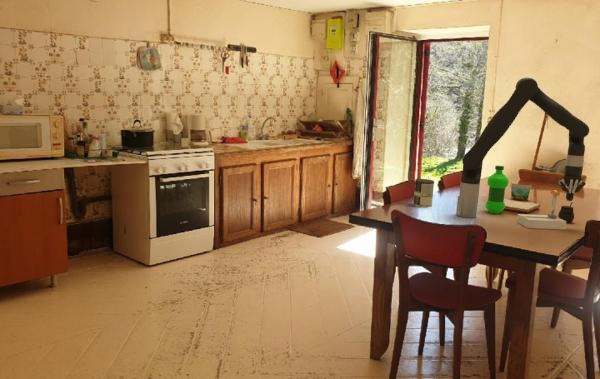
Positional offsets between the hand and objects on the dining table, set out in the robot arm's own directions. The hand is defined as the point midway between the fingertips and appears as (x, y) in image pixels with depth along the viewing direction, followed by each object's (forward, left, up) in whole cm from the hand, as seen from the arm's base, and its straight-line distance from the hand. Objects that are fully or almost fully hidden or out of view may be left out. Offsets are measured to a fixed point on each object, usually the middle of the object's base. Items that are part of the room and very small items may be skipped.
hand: (569, 200), depth 249 cm
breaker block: (-12, 0, -13) cm, 18 cm away
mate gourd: (+6, +11, -13) cm, 18 cm away
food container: (+7, +66, -13) cm, 68 cm away
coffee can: (-60, +38, -13) cm, 72 cm away
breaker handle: (-7, 0, -9) cm, 11 cm away
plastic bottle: (-24, +27, -13) cm, 39 cm away
